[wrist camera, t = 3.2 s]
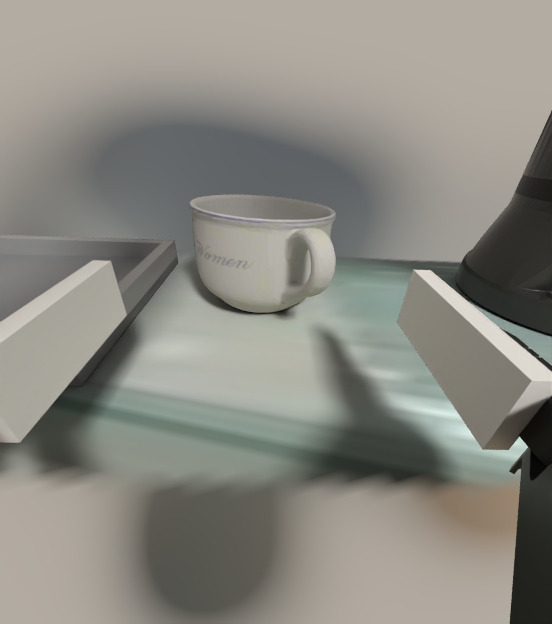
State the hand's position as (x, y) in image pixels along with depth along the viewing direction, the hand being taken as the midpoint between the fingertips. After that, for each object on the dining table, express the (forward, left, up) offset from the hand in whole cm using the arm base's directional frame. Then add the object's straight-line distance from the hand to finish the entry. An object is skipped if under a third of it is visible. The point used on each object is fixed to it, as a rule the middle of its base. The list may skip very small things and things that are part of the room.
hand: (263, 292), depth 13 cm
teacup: (0, -10, -6) cm, 11 cm away
